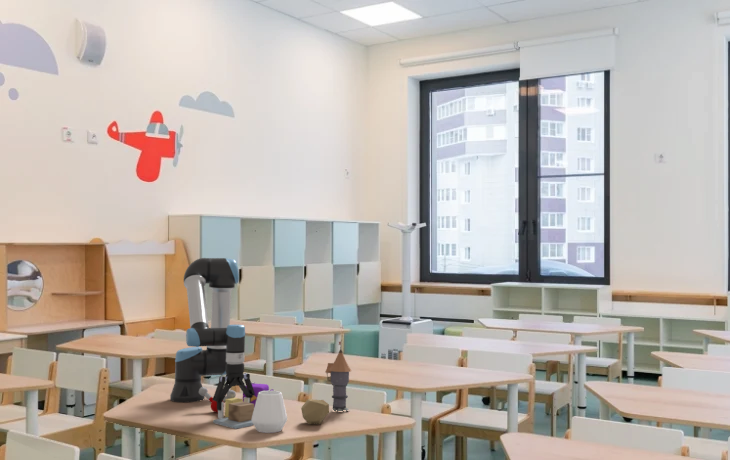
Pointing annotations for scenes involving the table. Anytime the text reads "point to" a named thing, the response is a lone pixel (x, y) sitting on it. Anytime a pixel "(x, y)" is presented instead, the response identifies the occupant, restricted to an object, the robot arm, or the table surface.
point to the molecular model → (204, 391)
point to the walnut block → (240, 411)
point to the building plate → (232, 423)
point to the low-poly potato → (314, 411)
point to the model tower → (339, 381)
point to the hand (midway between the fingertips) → (233, 416)
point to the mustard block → (229, 401)
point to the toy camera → (257, 391)
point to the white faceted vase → (269, 412)
